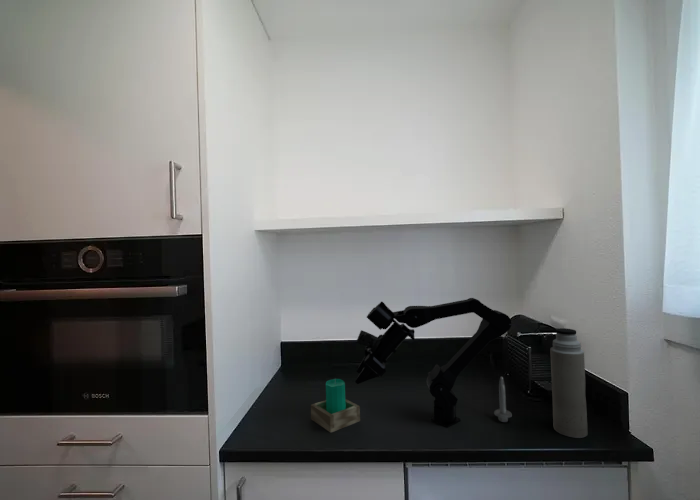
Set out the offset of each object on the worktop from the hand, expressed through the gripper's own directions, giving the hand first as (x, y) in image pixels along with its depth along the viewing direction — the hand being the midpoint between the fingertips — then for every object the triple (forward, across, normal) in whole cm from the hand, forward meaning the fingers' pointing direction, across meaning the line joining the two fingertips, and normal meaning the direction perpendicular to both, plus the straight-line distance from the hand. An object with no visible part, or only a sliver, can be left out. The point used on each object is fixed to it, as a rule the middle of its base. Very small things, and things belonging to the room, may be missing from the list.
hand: (356, 377), depth 106 cm
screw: (-20, 0, +40) cm, 45 cm away
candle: (+14, 0, +4) cm, 14 cm away
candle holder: (+14, 0, +4) cm, 15 cm away
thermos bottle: (-31, +6, +52) cm, 61 cm away
